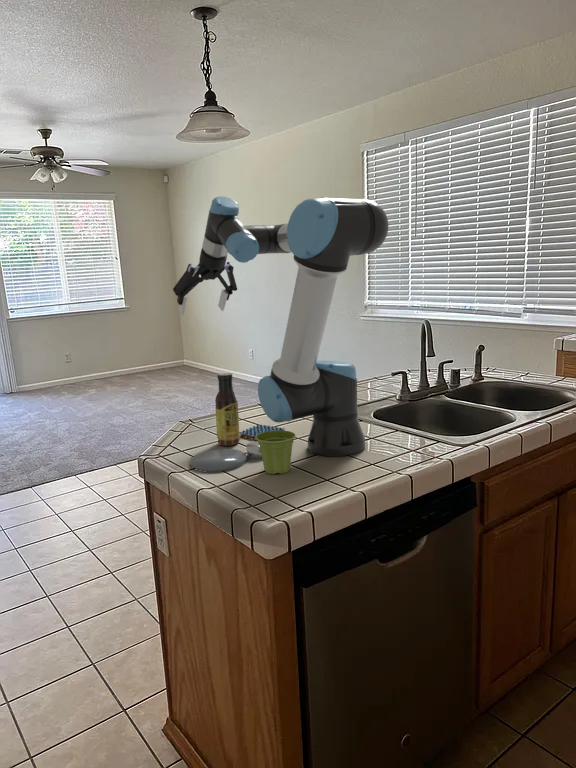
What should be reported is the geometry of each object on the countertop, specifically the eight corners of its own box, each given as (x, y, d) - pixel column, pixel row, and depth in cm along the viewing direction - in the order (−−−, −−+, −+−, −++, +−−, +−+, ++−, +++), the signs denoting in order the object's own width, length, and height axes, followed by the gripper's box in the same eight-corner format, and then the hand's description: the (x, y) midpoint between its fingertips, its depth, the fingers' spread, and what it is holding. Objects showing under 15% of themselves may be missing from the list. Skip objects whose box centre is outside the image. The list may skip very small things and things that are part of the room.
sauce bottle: (229, 448, 154) (223, 377, 150) (213, 445, 158) (207, 375, 153) (245, 441, 159) (240, 372, 155) (229, 438, 163) (223, 371, 158)
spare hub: (274, 453, 148) (273, 442, 148) (262, 460, 143) (262, 449, 142) (254, 451, 151) (253, 440, 150) (242, 458, 146) (241, 447, 145)
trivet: (256, 456, 146) (256, 451, 146) (226, 475, 134) (226, 470, 134) (212, 450, 153) (211, 446, 152) (179, 468, 140) (179, 463, 140)
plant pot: (275, 460, 142) (273, 427, 140) (304, 467, 136) (303, 433, 134) (249, 472, 135) (247, 437, 133) (280, 480, 129) (277, 444, 127)
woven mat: (265, 444, 157) (264, 437, 157) (237, 439, 164) (236, 432, 163) (287, 434, 165) (287, 427, 165) (260, 429, 172) (259, 423, 171)
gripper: (247, 242, 169) (231, 299, 183) (168, 244, 156) (158, 305, 169) (258, 256, 165) (241, 313, 179) (178, 260, 152) (167, 321, 165)
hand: (201, 310), depth 174 cm, fingers open, 13 cm apart
